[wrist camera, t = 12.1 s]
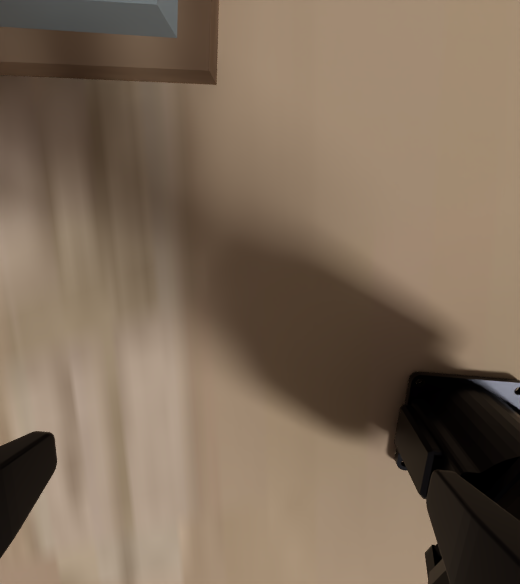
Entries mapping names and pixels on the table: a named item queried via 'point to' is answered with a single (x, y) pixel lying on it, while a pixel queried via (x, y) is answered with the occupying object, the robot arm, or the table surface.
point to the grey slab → (93, 16)
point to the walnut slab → (119, 51)
